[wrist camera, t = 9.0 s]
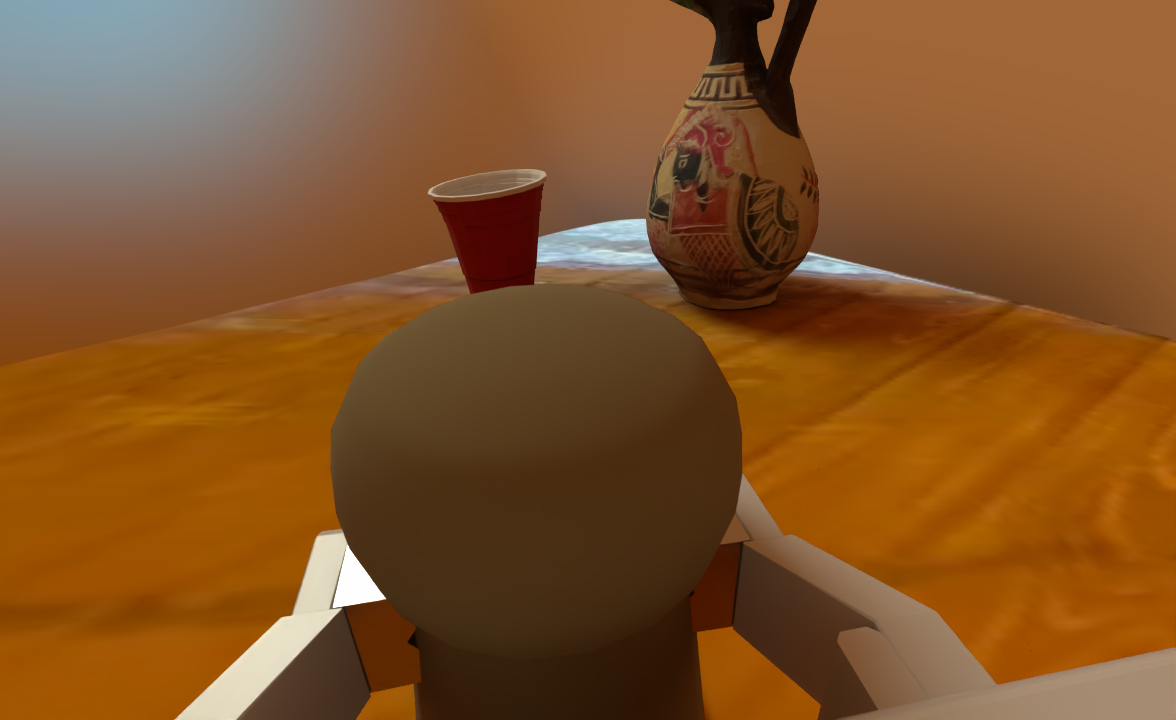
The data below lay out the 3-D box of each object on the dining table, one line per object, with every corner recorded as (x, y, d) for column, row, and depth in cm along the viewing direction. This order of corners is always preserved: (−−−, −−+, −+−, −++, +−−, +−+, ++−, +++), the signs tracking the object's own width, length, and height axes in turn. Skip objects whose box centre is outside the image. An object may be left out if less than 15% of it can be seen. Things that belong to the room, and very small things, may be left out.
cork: (555, 607, 17) (526, 215, 11) (762, 756, 13) (878, 306, 7) (363, 807, 13) (151, 356, 7) (589, 1090, 9) (553, 684, 4)
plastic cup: (461, 283, 65) (444, 168, 60) (560, 281, 64) (552, 164, 59) (432, 324, 56) (409, 192, 50) (549, 322, 55) (538, 188, 49)
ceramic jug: (612, 300, 59) (603, -74, 45) (700, 259, 69) (715, -58, 55) (774, 348, 48) (827, -119, 35) (850, 291, 58) (915, -90, 44)
